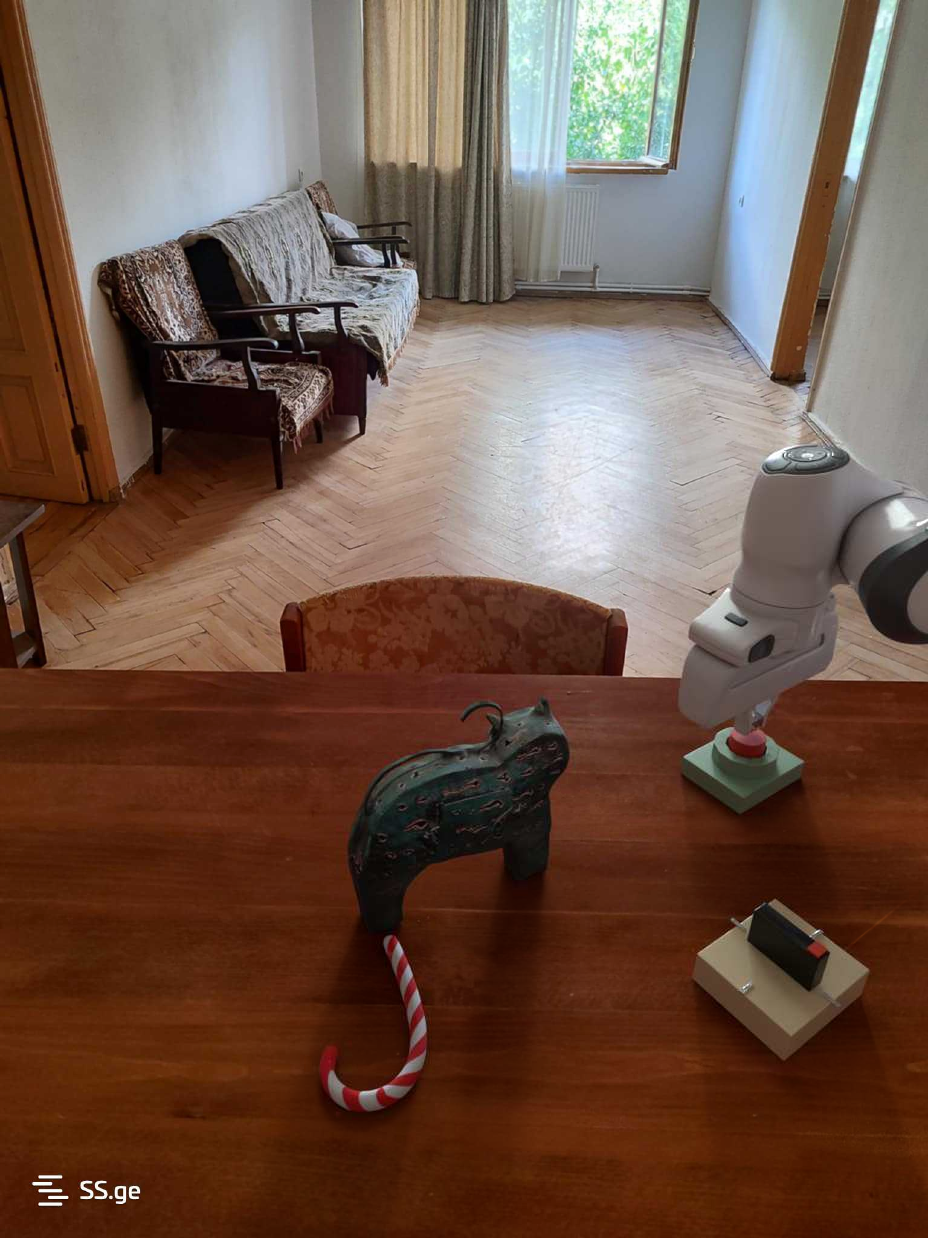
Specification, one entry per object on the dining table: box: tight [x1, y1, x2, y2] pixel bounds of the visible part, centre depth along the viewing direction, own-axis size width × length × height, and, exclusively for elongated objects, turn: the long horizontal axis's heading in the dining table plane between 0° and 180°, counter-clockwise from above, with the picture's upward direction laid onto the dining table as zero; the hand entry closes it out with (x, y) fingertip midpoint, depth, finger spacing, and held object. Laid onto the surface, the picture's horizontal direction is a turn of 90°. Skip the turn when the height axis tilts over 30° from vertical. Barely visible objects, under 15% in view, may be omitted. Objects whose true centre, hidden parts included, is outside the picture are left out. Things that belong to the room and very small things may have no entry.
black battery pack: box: [747, 902, 830, 992], centre depth 69 cm, size 6×2×4 cm, turn 35°
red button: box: [728, 727, 767, 759], centre depth 93 cm, size 4×4×2 cm
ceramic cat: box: [347, 695, 571, 934], centre depth 75 cm, size 20×6×20 cm, turn 115°
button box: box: [680, 726, 805, 815], centre depth 94 cm, size 10×8×4 cm
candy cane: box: [318, 934, 428, 1113], centre depth 68 cm, size 8×1×15 cm
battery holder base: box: [692, 898, 870, 1062], centre depth 71 cm, size 10×10×3 cm
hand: (748, 728), depth 92 cm, fingers closed
